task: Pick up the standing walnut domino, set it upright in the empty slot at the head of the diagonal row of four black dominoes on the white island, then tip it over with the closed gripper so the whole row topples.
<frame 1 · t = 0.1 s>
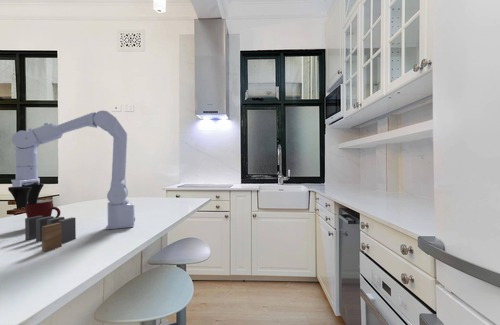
hand: (27, 206, 85), 10 cm above the kitchen island, fingers open, 7 cm apart
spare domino: (52, 248, 72), on the kitchen island
domino 3: (56, 239, 80), on the kitchen island
domino 2: (67, 240, 79), on the kitchen island
domino 5: (34, 238, 82), on the kitchen island
domino 4: (45, 239, 81), on the kitchen island
mug: (43, 227, 96), on the kitchen island
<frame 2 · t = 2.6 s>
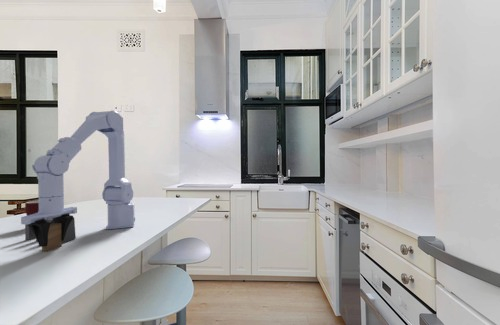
hand: (52, 243, 72), 2 cm above the kitchen island, fingers closed on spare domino, 4 cm apart
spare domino: (52, 248, 72), on the kitchen island, touching gripper
everything else where it was.
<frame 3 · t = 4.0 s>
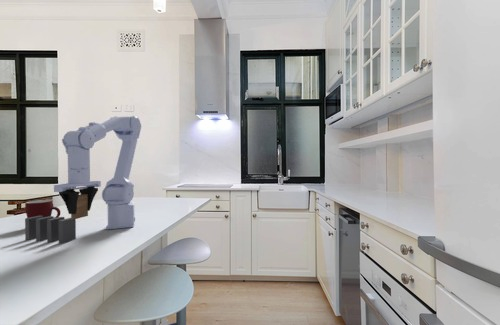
hand: (79, 212, 78), 9 cm above the kitchen island, fingers closed on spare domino, 4 cm apart
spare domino: (79, 217, 78), point 8 cm above the kitchen island, touching gripper
everything else where it was.
when the fingers open (2 cm above the kitchen island, at t = 5.8 s): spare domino stays where it is, on the kitchen island.
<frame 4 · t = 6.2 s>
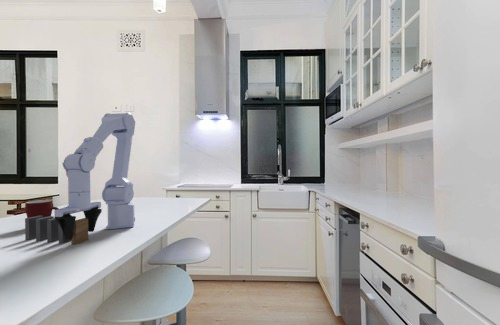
hand: (80, 234, 78), 2 cm above the kitchen island, fingers open, 7 cm apart
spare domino: (80, 241, 78), on the kitchen island
everything else where it was.
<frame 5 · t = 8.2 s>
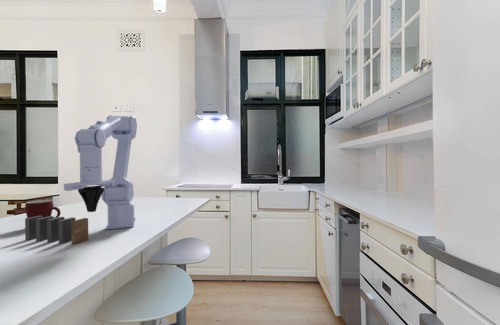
hand: (91, 211, 77), 10 cm above the kitchen island, fingers closed
nothing on the kitchen island moved.
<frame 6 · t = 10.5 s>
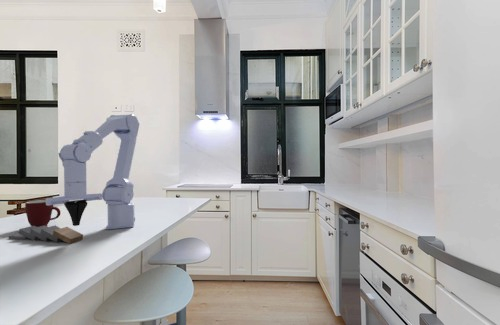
hand: (76, 225, 78), 5 cm above the kitchen island, fingers closed
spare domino: (76, 239, 78), point 1 cm above the kitchen island, tilted 71°, touching domino 2
domino 3: (53, 237, 80), point 1 cm above the kitchen island, tilted 71°, touching domino 2, domino 4
domino 2: (63, 238, 79), point 1 cm above the kitchen island, tilted 69°, touching domino 3, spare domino
domino 5: (32, 237, 82), on the kitchen island, tilted 90°
domino 4: (41, 236, 82), point 1 cm above the kitchen island, tilted 74°, touching domino 3
everything else where it was.
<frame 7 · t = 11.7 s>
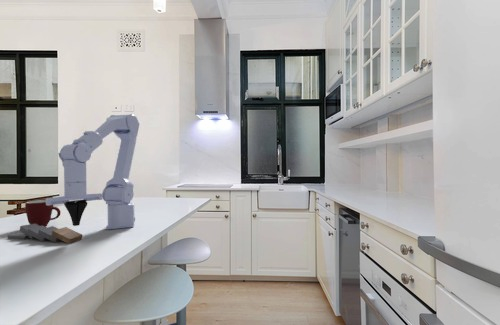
hand: (76, 225, 78), 5 cm above the kitchen island, fingers closed
domino 3: (50, 237, 80), point 1 cm above the kitchen island, tilted 71°, touching domino 4
domino 2: (62, 238, 79), point 1 cm above the kitchen island, tilted 71°, touching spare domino
domino 4: (40, 235, 82), point 1 cm above the kitchen island, tilted 72°, touching domino 3
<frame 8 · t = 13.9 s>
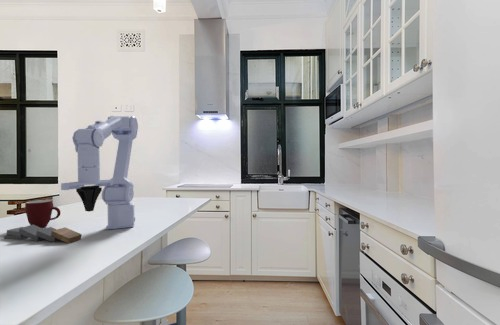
hand: (89, 210, 77), 10 cm above the kitchen island, fingers closed
domino 3: (44, 236, 81), point 1 cm above the kitchen island, tilted 69°, touching domino 2
domino 2: (60, 238, 80), point 1 cm above the kitchen island, tilted 74°, touching domino 3, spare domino
domino 5: (28, 237, 83), on the kitchen island, tilted 90°, touching domino 4
domino 4: (28, 232, 83), point 2 cm above the kitchen island, tilted 90°, touching domino 5
at the end: domino 5 tilted 90°; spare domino tilted 74°; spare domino inside the target area (2.3 cm from its centre), point 0.8 cm above the kitchen island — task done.
